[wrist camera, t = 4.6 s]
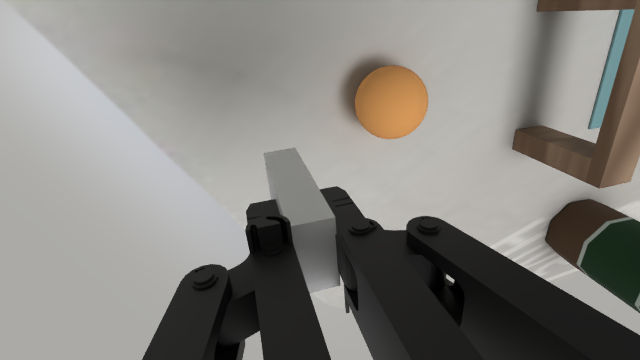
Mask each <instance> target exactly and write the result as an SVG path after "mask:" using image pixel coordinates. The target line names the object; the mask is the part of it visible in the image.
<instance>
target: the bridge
mask: <svg viewBox="0 0 640 360" xmlns="http://www.w3.org/2000/svg"><path fill="white" fill-rule="evenodd" d="M627 9H635V10H634V14H633V17H632V21H631V24H630V28H629V31H628V35H627V38H626V42H625V45H624V49H623V52H622V55H621V59H620V62H619V66H618V69H617V73H616V76H615V80H614V83H613V87H612V90H611V94H610V97H609V101H608V104H607V108H606V111H605V114H604V118H603V121H602V125H601V128H600V132H599V135H598V139H597V142H596V144H595V143H592V142H589V141H586V140H583V139H580V138H577V137H574V136H571V135H568V134H565V133H563V132H560V131H557V130H554V129H551V128H548V127H545V126H536V127H530V128H524V129H519V130H516V132H515V138H514V143H513V149H514V150H516V151H518V152H520V153H522V154H525V155H527V156H529V157H531V158H533V159H536V160H538V161H540V162H542V163H544V164H546V165H549V166H551V167H553V168H555V169H557V170H560V171H562V172H564V173H566V174H568V175H571V176H573V177H575V178H577V179H579V180H582V181H584V182H586V183H588V184H590V185H593V186H595V187H597V188H604V187H608V186H613V185H617V184H622V183H627V182H630V181H631V179H632V176H633V173H634V170H635V167H636V164H637V162H638V159H639V156H640V0H539V1H538V7H537V11H582V10H627Z"/></svg>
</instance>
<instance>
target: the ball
mask: <svg viewBox="0 0 640 360" xmlns="http://www.w3.org/2000/svg"><path fill="white" fill-rule="evenodd" d="M427 107H428V94H427V90H426V87H425V85H424V83H423V81H422V80H421V79H420V77H419V76H418V75H417V74H415V73H414V72H413V71H411V70H410V69H407V68H405V67H401V66H394V65H393V66H385V67H381V68H378V69H376V70H374V71H373V72H371V73H370V74H369V75H368V76H367V77H366V78H365V79H364V80H363V81H362V83H361V84H360V86H359V88H358V90H357V93H356V97H355V111H356V115H357V117H358V120H359V121H360V123H361V125H362V126H363V127H364V128H365V129H366V130H367V131H368V132H369V133H371V134H373V135H375V136H377V137H380V138H384V139H396V138H400V137H403V136H406V135H408V134H409V133H411V132H412V131H414V130H415V129H416V128H417V127H418V126H419V125H420V123H421V122H422V120H423V119H424V117H425V114H426V111H427Z"/></svg>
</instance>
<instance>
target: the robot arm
mask: <svg viewBox="0 0 640 360" xmlns="http://www.w3.org/2000/svg"><path fill="white" fill-rule="evenodd" d="M264 159H265V165H266V171H267V177H268V183H269V189H270V195H271V200H268V201H263V202H258V203H253V204H250V206H249V207H248V209H247V211H246V215H247V223H248V225H247V226H246V230H245V231H246V236H247V241H248V246H249V250H250V254H249V256H248V258H247V259H246V260H245V261H244V262H243V263H241V264H240V265H238V266H236V267H234V268H232V269H230V270H228V271H227V269H226V268H225V267H223V266H221V265H214V264H210V265H205V266H201V267H199V268H197V269H194V270H192V271H191V272H190V273H188V274H187V275H185V277H184V278H183V279H182V281H181V282H180V284H179V286H178V288H177V290H176V292H175V294H174V296H173V298H172V300H171V303H170V305H169V307H168V308H167V310H166V313H165V315H164V317H163V319H162V320H161V322H160V324H159V327H158V329H157V331H156V333H155V335H154V337H153V339H152V341H151V343H150V345H149V347H148V349H147V351H146V353H145V355H144V357H143V359H142V360H242V358H243V353H244V348H245V339H246V338H248V337H250V336H251V335H253V334H255V333H257V332H258V331H260V334H261V342H262V350H263V358H264V360H331V358H330V355H329V352H328V349H327V346H326V343H325V340H324V336H323V333H322V330H321V327H320V324H319V321H318V318H317V315H316V312H315V309H314V306H313V303H312V300H311V297H310V294H309V293H311V292H315V291H319V290H323V289H327V288H331V287H335V286H339V285H340V275H341V278H342V280H343V282H344V294H345V308H346V313H349V306H350V308H351V310H352V313H353V315H354V317H355V319H356V322H357V324H358V326H359V328H360V330H361V333H362V335H363V337H364V339H365V341H366V344H367V346H368V348H369V351H370V353H371V355H372V357H373V360H640V335H638V334H637V333H635V332H633V331H632V330H630V329H628V328H626V327H625V326H623V325H621V324H620V323H617V322H616V321H614V320H613V319H611V318H609V317H607V316H606V315H604V314H602V313H600V312H599V311H597V310H595V309H594V308H592V307H591V306H589V305H587V304H585V303H584V302H582V301H580V300H579V299H577V298H575V297H573V296H572V295H570V294H568V293H566V292H565V291H563V290H561V289H560V288H558V287H556V286H555V285H553V284H551V283H549V282H548V281H546V280H544V279H543V278H541V277H539V276H538V275H536V274H534V273H532V272H531V271H529V270H527V269H526V268H524V267H522V266H520V265H519V264H517V263H515V262H514V261H512V260H510V259H508V258H507V257H505V256H503V255H502V254H500V253H498V252H497V251H495V250H493V249H491V248H490V247H488V246H486V245H485V244H483V243H481V242H479V241H478V240H476V239H474V238H473V237H471V236H469V235H467V234H466V233H464V232H462V231H461V230H459V229H457V228H455V227H454V226H452V225H450V224H449V223H447V222H445V221H443V220H441V219H439V218H435V217H430V216H420V217H416V218H413V219H412V220H410V221H409V222H408V224H407V227H406V230H396V231H392V230H384V229H383V228H382V227H381V225H380V224H378V223H377V222H376V221H374V220H371V219H368V218H365V217H364V216H363V214H362V213H361V212H360V210H359V209H358V207H357V206H356V205H355V203H354V202H353V201H352V199H351V198H350V196H349V195H348V194H347V192H346V191H345V190H343V189H341V188H339V187H337V186H336V187H330V188H325V189H320V190H319V188H318V186H317V185H316V183H315V181H314V179H313V178H312V176H311V174H310V173H309V171H308V169H307V167H306V166H305V164H304V162H303V161H302V159H301V157H300V155H299V154H298V152H297V150H296V148H292V149H286V150H280V151H274V152H268V153H264ZM339 273H340V274H339ZM446 274H447V275H449V276H450V277H451V278H453V279H454V280H455V281H454V283H452V282H451V281H449V280H448V279H446Z"/></svg>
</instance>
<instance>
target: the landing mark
mask: <svg viewBox="0 0 640 360" xmlns="http://www.w3.org/2000/svg"><path fill="white" fill-rule="evenodd" d="M634 10H635V9H627V10H620V14H619V17H618V21H617V25H616V28H615V32H614V36H613V40H612V43H611V47H610V51H609V54H608V58H607V62H606V65H605V69H604V73H603V76H602V80H601V84H600V87H599V91H598V95H597V98H596V102H595V106H594V109H593V113H592V117H591V120H590V124H589V128H588V129H593V128H599V127H601V125H602V121H603V118H604V114H605V111H606V108H607V104H608V101H609V97H610V94H611V90H612V87H613V83H614V80H615V76H616V73H617V69H618V66H619V62H620V59H621V55H622V52H623V49H624V45H625V42H626V38H627V35H628V31H629V28H630V24H631V21H632V17H633V14H634Z"/></svg>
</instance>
